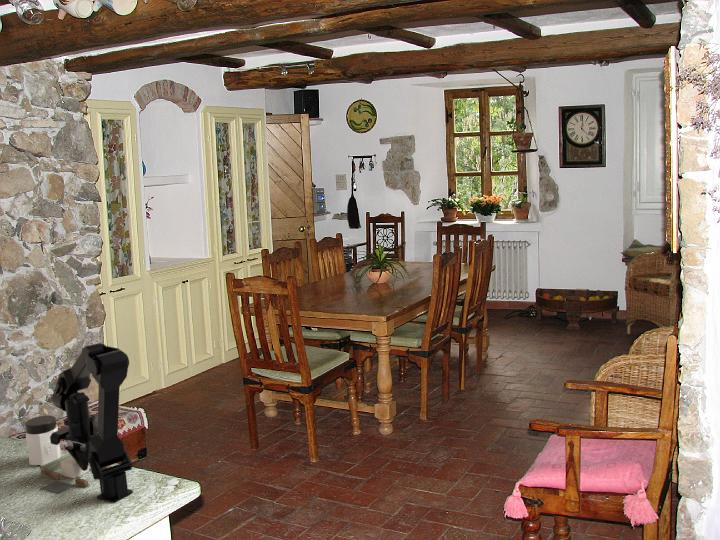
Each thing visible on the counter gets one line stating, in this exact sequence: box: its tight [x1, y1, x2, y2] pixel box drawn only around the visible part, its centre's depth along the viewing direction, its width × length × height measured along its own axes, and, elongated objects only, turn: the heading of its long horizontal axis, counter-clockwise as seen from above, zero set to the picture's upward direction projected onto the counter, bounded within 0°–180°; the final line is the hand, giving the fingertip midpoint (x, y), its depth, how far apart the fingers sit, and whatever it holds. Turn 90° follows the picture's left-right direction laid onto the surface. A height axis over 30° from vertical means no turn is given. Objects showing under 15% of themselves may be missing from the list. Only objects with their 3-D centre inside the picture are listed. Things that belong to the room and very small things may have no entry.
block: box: [60, 456, 90, 479], centre depth 206 cm, size 5×5×4 cm
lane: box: [40, 452, 113, 488], centre depth 205 cm, size 18×10×2 cm, turn 60°
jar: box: [24, 415, 62, 467], centre depth 215 cm, size 9×8×12 cm
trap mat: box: [39, 479, 75, 495], centre depth 198 cm, size 7×5×1 cm
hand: (84, 470), depth 204 cm, fingers closed
